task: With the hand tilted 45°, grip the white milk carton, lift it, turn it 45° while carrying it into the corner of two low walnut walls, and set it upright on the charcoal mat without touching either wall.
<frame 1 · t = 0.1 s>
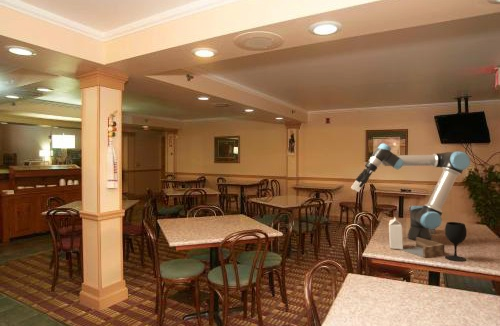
hand: (354, 190, 221), 36 cm above the table, tool tilted 35°, fingers open, 13 cm apart
corner walls: (420, 251, 198), on the table
milk carton: (396, 248, 207), on the table, touching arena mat
can: (426, 232, 247), on the table
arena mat: (419, 251, 198), on the table
wine glass: (455, 259, 185), on the table
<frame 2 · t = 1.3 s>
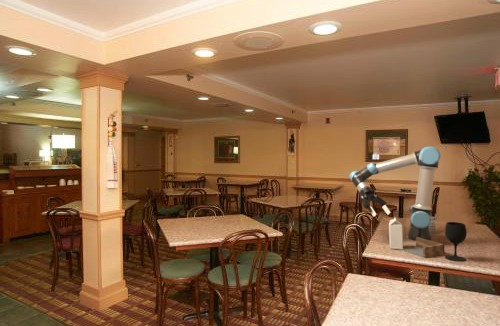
hand: (382, 214, 216), 20 cm above the table, tool tilted 45°, fingers open, 13 cm apart
nothing on the table moved.
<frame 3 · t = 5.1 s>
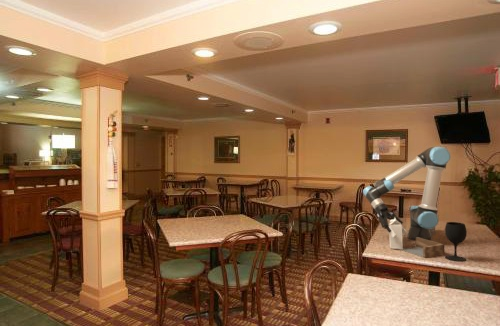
hand: (400, 235, 204), 9 cm above the table, tool tilted 45°, fingers closed on milk carton, 10 cm apart
milk carton: (396, 248, 207), on the table, touching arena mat, gripper
everything else where it was.
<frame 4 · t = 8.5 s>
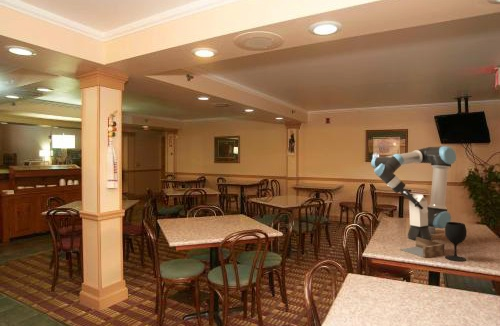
hand: (424, 211, 197), 25 cm above the table, tool tilted 45°, fingers closed on milk carton, 10 cm apart
milk carton: (418, 225, 198), point 16 cm above the table, touching gripper
everything else where it was.
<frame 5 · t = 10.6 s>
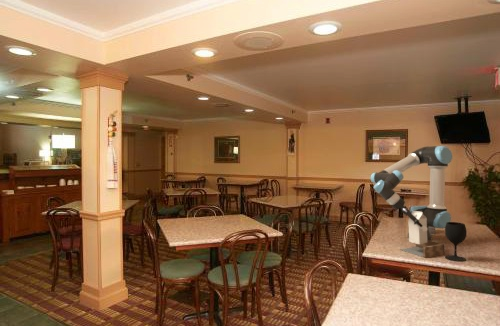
hand: (423, 228, 197), 15 cm above the table, tool tilted 45°, fingers closed on milk carton, 10 cm apart
milk carton: (418, 242, 198), point 6 cm above the table, touching gripper
everything else where it was.
when the fingers open (10 cm above the table, at t = 12.1 s): milk carton drops 1 cm, resting on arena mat.
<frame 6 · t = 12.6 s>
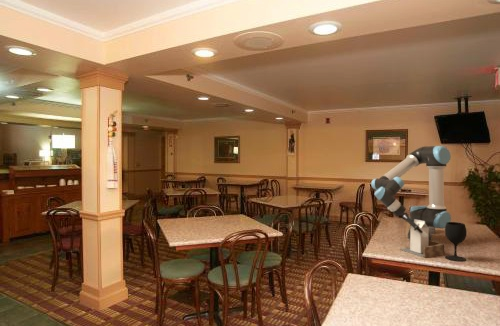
hand: (423, 233, 197), 11 cm above the table, tool tilted 45°, fingers open, 13 cm apart
milk carton: (419, 251, 198), resting on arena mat
everything else where it was.
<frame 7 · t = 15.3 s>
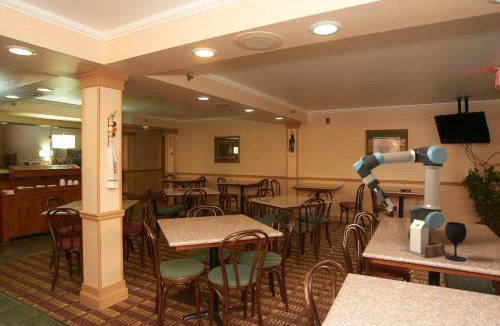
hand: (391, 209, 208), 25 cm above the table, tool tilted 35°, fingers open, 13 cm apart
nothing on the table moved.
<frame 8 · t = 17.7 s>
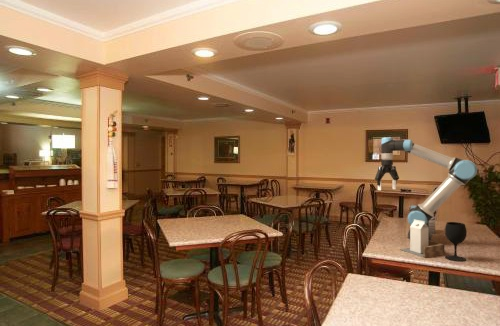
hand: (387, 189, 228), 35 cm above the table, tool pointing down, fingers open, 13 cm apart
nothing on the table moved.
at the end: milk carton inside the target area on the corner walls (2.2 cm from its centre), point 0.1 cm above the corner walls's base; milk carton tilted 0°; milk carton touching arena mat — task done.
